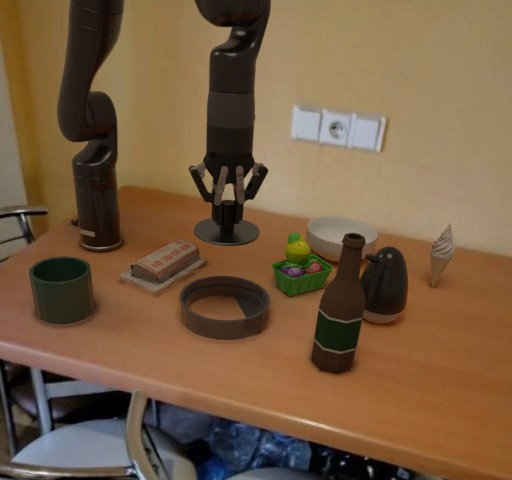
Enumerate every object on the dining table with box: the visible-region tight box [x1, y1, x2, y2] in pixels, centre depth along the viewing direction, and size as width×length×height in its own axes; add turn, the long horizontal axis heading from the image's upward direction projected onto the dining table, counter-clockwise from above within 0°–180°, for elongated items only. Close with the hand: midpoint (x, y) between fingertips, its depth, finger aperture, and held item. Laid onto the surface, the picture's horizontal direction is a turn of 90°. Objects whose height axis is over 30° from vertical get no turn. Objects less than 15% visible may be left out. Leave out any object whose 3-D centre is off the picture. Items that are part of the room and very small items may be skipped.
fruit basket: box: [271, 231, 334, 297], centre depth 118 cm, size 11×9×11 cm
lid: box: [193, 199, 261, 247], centre depth 98 cm, size 12×12×6 cm
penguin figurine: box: [360, 245, 409, 325], centre depth 109 cm, size 10×10×15 cm
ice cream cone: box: [429, 223, 456, 288], centre depth 121 cm, size 5×5×15 cm
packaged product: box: [119, 238, 208, 295], centre depth 121 cm, size 18×5×10 cm
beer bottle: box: [311, 233, 366, 375], centre depth 93 cm, size 8×8×24 cm
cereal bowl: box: [305, 215, 379, 264], centre depth 133 cm, size 17×17×7 cm
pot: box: [28, 255, 96, 326], centre depth 105 cm, size 11×11×9 cm
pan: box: [178, 275, 271, 341], centre depth 108 cm, size 17×17×4 cm
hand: (226, 222), depth 98 cm, fingers closed on lid, 2 cm apart
